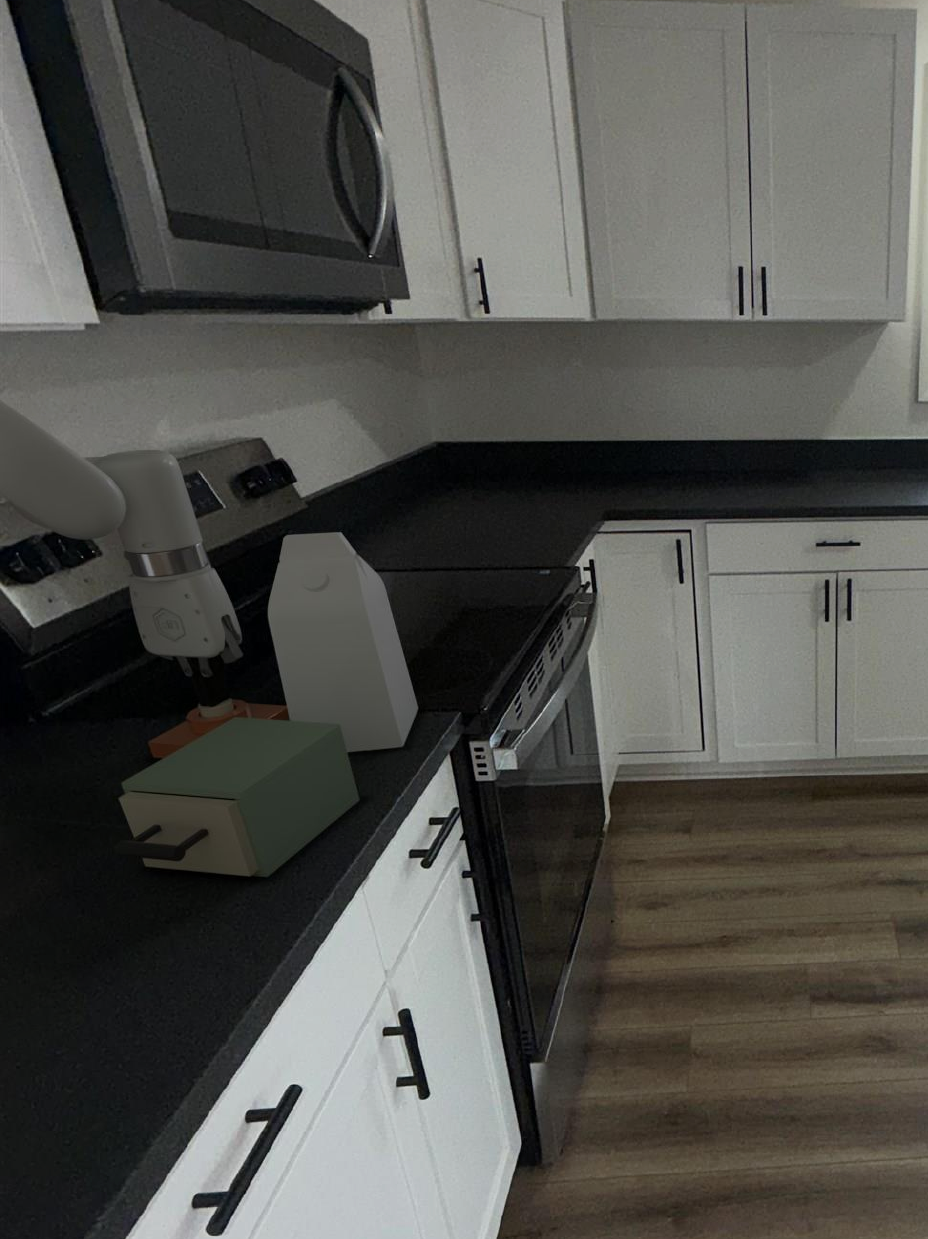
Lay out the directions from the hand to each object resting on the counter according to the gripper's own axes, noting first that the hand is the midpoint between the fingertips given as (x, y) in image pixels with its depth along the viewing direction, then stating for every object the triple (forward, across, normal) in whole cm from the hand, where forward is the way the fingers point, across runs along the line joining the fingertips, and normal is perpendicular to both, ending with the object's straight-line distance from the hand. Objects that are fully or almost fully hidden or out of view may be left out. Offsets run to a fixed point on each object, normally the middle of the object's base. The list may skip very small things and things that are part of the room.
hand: (216, 701), depth 111 cm
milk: (+5, +16, +4) cm, 17 cm away
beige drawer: (+4, +20, -23) cm, 31 cm away
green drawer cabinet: (+5, +20, -19) cm, 28 cm away
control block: (+5, 0, 0) cm, 5 cm away
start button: (+2, 0, 0) cm, 2 cm away
